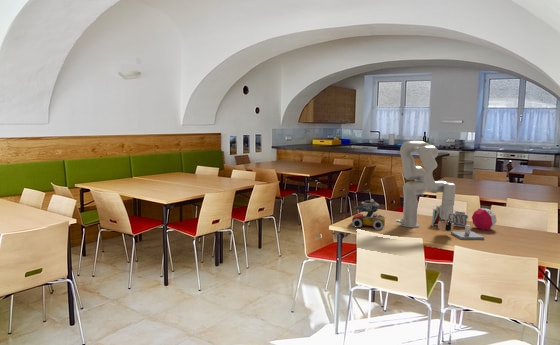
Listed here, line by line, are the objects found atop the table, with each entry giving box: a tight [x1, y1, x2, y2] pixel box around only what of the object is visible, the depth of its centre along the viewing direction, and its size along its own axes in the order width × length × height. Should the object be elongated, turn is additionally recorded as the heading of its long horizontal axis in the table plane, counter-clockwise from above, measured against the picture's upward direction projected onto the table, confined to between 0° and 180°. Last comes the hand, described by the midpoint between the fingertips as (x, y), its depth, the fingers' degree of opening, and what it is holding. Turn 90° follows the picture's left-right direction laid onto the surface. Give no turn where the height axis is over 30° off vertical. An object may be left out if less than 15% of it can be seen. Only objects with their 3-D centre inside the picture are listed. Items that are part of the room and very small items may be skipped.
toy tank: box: [351, 198, 386, 231], centre depth 299 cm, size 18×22×20 cm
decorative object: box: [471, 208, 498, 231], centre depth 299 cm, size 15×15×15 cm
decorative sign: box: [430, 204, 469, 228], centre depth 305 cm, size 24×3×15 cm, turn 84°
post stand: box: [450, 224, 485, 241], centre depth 276 cm, size 15×14×8 cm
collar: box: [437, 221, 455, 233], centre depth 277 cm, size 7×7×5 cm
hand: (445, 228), depth 278 cm, fingers closed on collar, 7 cm apart
